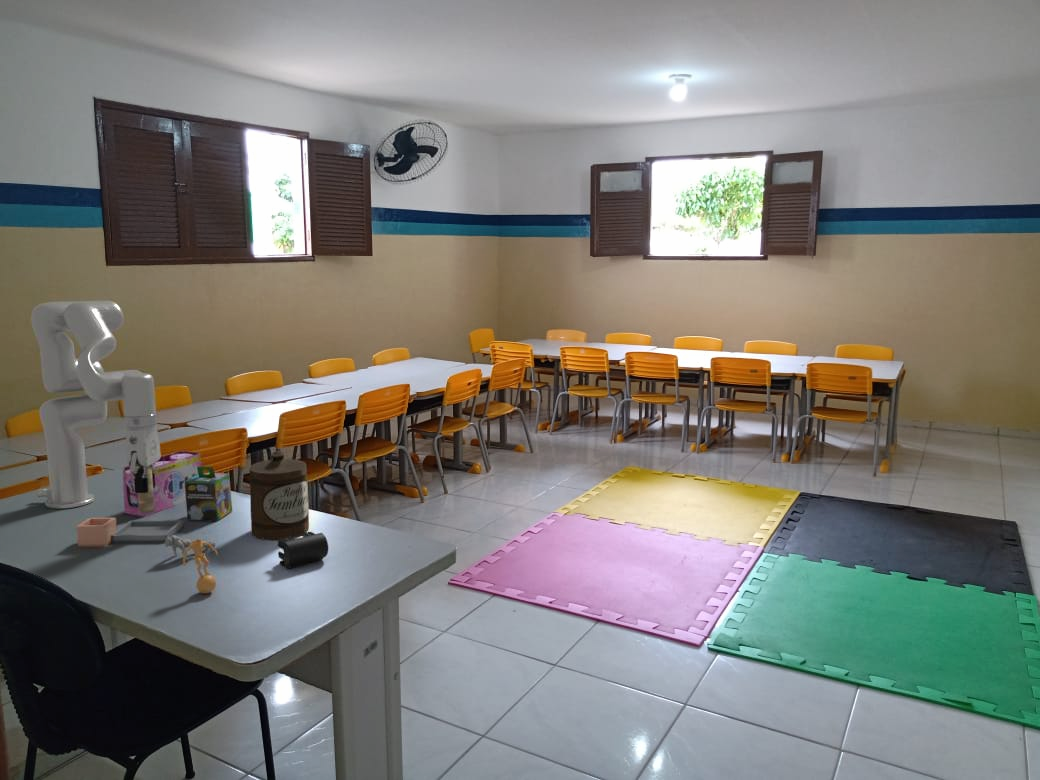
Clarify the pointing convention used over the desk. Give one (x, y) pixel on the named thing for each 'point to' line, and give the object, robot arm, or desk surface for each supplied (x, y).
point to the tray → (147, 531)
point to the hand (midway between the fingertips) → (145, 489)
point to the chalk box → (208, 495)
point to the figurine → (205, 581)
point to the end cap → (302, 549)
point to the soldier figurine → (183, 544)
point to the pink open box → (96, 532)
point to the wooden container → (279, 498)
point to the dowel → (147, 494)
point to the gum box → (163, 482)
